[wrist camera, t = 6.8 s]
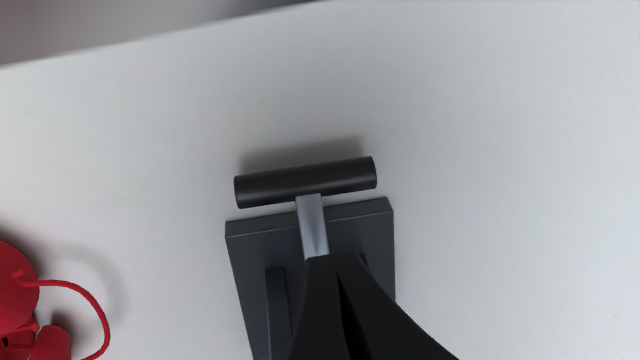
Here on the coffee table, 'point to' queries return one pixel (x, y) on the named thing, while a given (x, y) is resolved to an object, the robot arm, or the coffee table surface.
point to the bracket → (300, 265)
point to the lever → (306, 193)
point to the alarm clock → (18, 305)
